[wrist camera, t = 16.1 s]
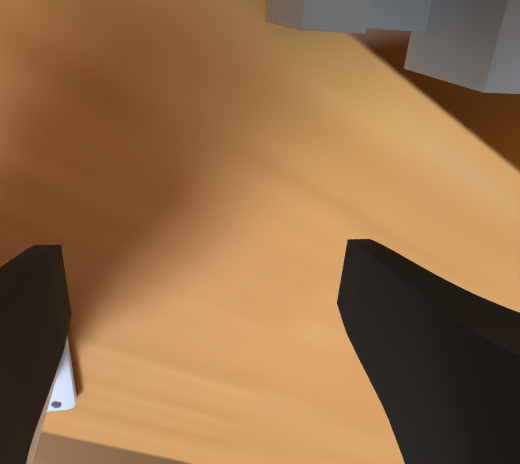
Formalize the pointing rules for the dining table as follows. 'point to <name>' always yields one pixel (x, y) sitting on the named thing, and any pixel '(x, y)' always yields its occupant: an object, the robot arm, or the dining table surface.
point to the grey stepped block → (428, 34)
